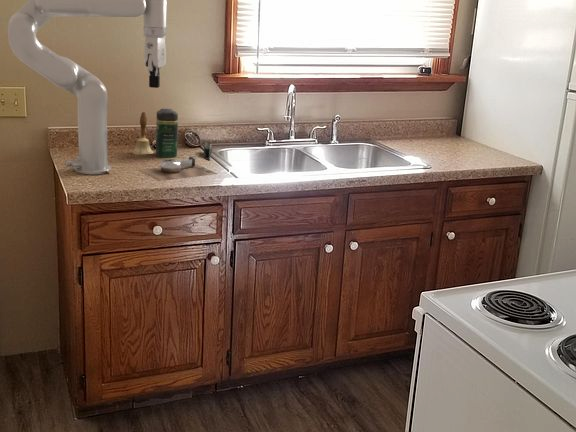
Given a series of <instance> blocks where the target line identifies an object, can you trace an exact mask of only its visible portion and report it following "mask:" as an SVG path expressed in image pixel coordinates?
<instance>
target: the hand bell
mask: <svg viewBox="0 0 576 432" xmlns="http://www.w3.org/2000/svg"><path fill="white" fill-rule="evenodd" d="M139 124H140V137H139V138H138V139H136V145H135V148H134V149H133V150H132V152H131V154H132V155H135V156H139V155H149V154H150V155H151V154H154V151H153V150H152V148H151V147H150V140H149V139H148V138H146V129H147V128H146V127H147V124H148V118H147V115H146V112H144V111H143V112H141V114H140V118H139Z"/></svg>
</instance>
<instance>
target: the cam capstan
mask: <svg viewBox="0 0 576 432" xmlns="http://www.w3.org/2000/svg"><path fill="white" fill-rule="evenodd" d="M195 164H196V157H195V156H189V157H188V158H185V159H180V158H179V159H174V158H169V159H168V158H167V159H162V160H160V168H161V171H164V172H179V171H181V168H183V167H189V166H195Z"/></svg>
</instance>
